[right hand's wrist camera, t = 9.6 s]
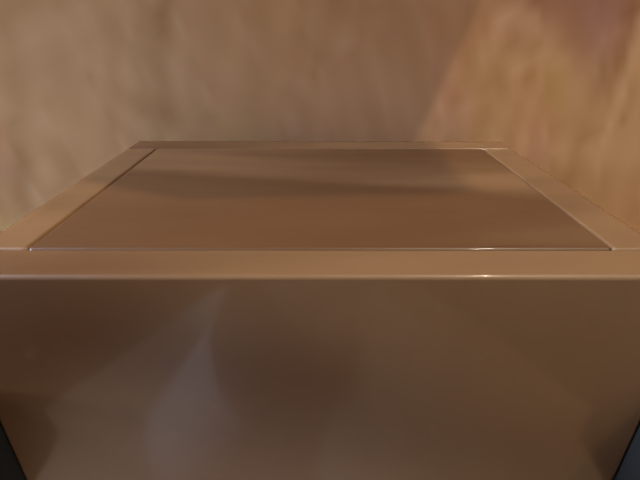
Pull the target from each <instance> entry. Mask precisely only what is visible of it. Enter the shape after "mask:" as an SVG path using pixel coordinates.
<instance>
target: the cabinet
mask: <svg viewBox="0 0 640 480" xmlns="http://www.w3.org/2000/svg"><path fill="white" fill-rule="evenodd" d="M639 422H640V233H639V232H637V231H636V230H634V229H633V228H631V227H629V226H628V225H626V224H625V223H623V222H622V221H620V220H619V219H617V218H616V217H614V216H613V215H611V214H610V213H608V212H607V211H605V210H604V209H602V208H600V207H599V206H597V205H596V204H594V203H593V202H591V201H590V200H588V199H587V198H585V197H584V196H582V195H581V194H579V193H578V192H576V191H574V190H573V189H571V188H570V187H568V186H567V185H565V184H564V183H562V182H561V181H559V180H558V179H556V178H555V177H553V176H552V175H550V174H549V173H547V172H545V171H544V170H542V169H541V168H539V167H538V166H536V165H535V164H533V163H532V162H530V161H529V160H527V159H526V158H524V157H523V156H521V155H519V154H518V153H516V152H515V151H513V150H512V149H510V148H509V147H507V146H506V145H504V144H503V143H501V142H198V141H140V142H138V143H136V144H135V145H133V146H132V147H130V148H129V149H127V150H126V151H124V152H123V153H121V154H120V155H118V156H117V157H115V158H114V159H112V160H111V161H109V162H108V163H106V164H105V165H103V166H101V167H100V168H98V169H97V170H95V171H94V172H92V173H91V174H89V175H88V176H86V177H85V178H83V179H82V180H80V181H79V182H77V183H76V184H74V185H73V186H71V187H70V188H68V189H66V190H65V191H63V192H62V193H60V194H59V195H57V196H56V197H54V198H53V199H51V200H50V201H48V202H47V203H45V204H44V205H42V206H41V207H39V208H38V209H36V210H34V211H33V212H31V213H30V214H28V215H27V216H25V217H24V218H22V219H21V220H19V221H18V222H16V223H15V224H13V225H12V226H10V227H9V228H7V229H6V230H4V231H3V232H1V233H0V423H1V425H2V427H3V429H4V432H5V434H6V436H7V438H8V440H9V443H10V445H11V447H12V449H13V451H14V453H15V456H16V458H17V460H18V462H19V464H20V467H21V469H22V471H23V473H24V475H25V478H26V480H613V478H614V476H615V474H616V472H617V470H618V467H619V465H620V463H621V461H622V459H623V457H624V454H625V452H626V450H627V448H628V446H629V444H630V441H631V439H632V437H633V435H634V433H635V431H636V428H637V426H638V424H639Z"/></svg>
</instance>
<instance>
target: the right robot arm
mask: <svg viewBox="0 0 640 480" xmlns="http://www.w3.org/2000/svg"><path fill="white" fill-rule="evenodd" d="M0 480H26V478H25V475H24V473H23V471H22V469H21V467H20V464H19V462H18V460H17V458H16V456H15V453H14V451H13V449H12V447H11V445H10V443H9V440H8V438H7V436H6V434H5V432H4V429H3V427H2V425H1V423H0ZM613 480H640V422H639V424H638V426H637V428H636V431H635V433H634V435H633V437H632V439H631V441H630V444H629V446H628V448H627V450H626V452H625V454H624V457H623V459H622V461H621V463H620V465H619V467H618V470H617V472H616V474H615V476H614V478H613Z"/></svg>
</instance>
